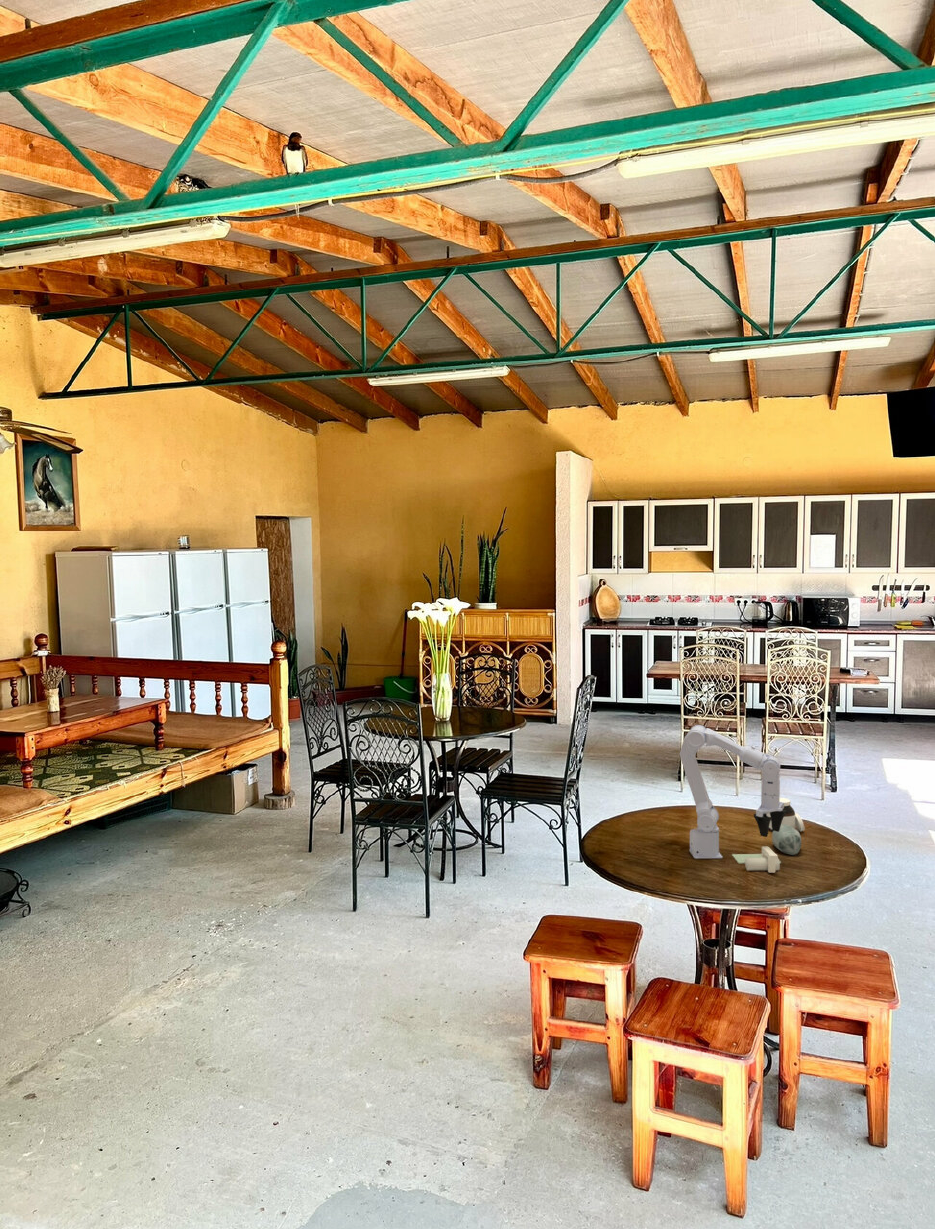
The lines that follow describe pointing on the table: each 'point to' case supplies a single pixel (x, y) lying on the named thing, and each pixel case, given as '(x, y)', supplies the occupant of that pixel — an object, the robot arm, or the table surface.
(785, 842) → the mottled grey-green ovoid
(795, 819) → the spread jar
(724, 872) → the table surface
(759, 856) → the mat
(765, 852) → the cream flat notched block
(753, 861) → the cylinder
